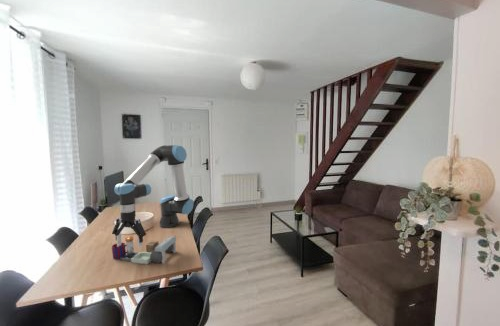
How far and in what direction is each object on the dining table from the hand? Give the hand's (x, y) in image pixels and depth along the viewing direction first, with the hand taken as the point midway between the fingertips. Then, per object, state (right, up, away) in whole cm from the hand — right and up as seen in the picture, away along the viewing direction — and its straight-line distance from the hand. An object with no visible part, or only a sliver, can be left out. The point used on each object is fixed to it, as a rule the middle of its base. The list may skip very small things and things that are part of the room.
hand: (129, 246), depth 132 cm
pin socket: (0, -7, +1) cm, 7 cm away
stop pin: (0, -7, +1) cm, 7 cm away
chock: (+9, -6, +9) cm, 15 cm away
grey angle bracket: (+20, -6, +1) cm, 21 cm away
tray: (+9, -7, -2) cm, 12 cm away
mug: (-6, -7, +4) cm, 10 cm away
